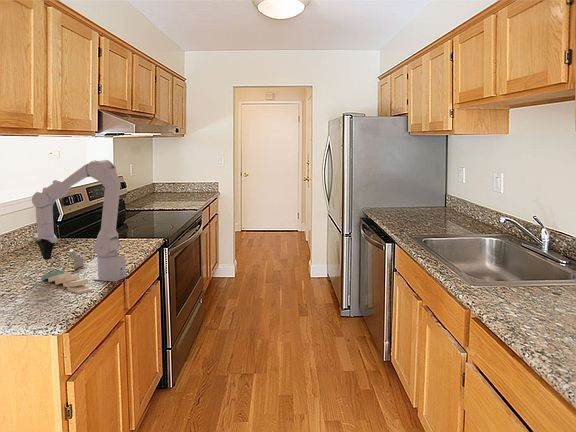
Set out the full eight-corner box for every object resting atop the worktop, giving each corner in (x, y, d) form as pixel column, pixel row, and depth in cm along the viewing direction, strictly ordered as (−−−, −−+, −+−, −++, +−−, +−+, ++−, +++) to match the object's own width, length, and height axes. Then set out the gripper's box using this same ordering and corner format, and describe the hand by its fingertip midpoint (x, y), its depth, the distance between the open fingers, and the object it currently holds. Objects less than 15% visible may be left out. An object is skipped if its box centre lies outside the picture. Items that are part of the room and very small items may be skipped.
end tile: (55, 277, 202) (64, 274, 196) (42, 279, 198) (51, 276, 193) (54, 273, 202) (63, 270, 197) (41, 275, 198) (50, 272, 193)
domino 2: (69, 282, 195) (79, 279, 190) (55, 284, 191) (66, 281, 186) (68, 277, 195) (78, 274, 190) (54, 280, 192) (65, 277, 186)
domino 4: (81, 288, 189) (92, 293, 184) (67, 291, 185) (78, 296, 180) (80, 284, 189) (92, 288, 184) (67, 287, 185) (78, 291, 180)
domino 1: (62, 279, 198) (71, 276, 193) (48, 282, 195) (58, 279, 189) (61, 275, 199) (71, 272, 193) (47, 277, 195) (57, 274, 190)
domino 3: (76, 284, 192) (88, 283, 186) (63, 287, 188) (75, 286, 183) (75, 280, 192) (87, 279, 186) (62, 282, 188) (74, 281, 183)
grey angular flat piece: (79, 265, 221) (78, 246, 220) (83, 265, 221) (82, 246, 220) (69, 269, 214) (68, 249, 213) (73, 269, 214) (72, 250, 213)
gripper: (25, 222, 201) (28, 258, 203) (42, 226, 192) (44, 263, 194) (44, 220, 207) (46, 255, 208) (62, 224, 197) (64, 260, 199)
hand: (47, 259), depth 201 cm, fingers closed
